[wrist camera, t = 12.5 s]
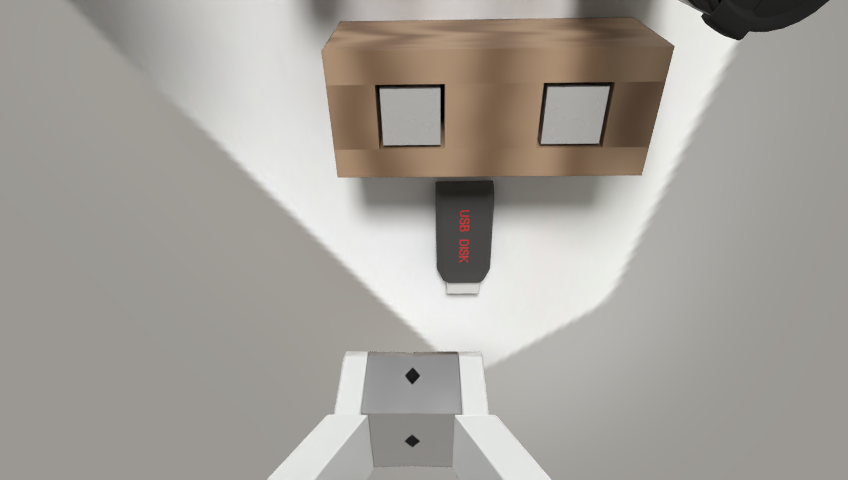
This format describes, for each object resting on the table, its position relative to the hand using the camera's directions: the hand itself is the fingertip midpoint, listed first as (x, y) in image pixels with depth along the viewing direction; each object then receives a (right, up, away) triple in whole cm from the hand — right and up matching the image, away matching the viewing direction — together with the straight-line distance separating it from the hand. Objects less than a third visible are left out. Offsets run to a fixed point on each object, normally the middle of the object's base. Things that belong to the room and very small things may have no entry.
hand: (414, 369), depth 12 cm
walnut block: (+5, +16, +30) cm, 34 cm away
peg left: (-1, +15, +29) cm, 33 cm away
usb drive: (+4, +4, +39) cm, 39 cm away
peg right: (+10, +15, +29) cm, 34 cm away
